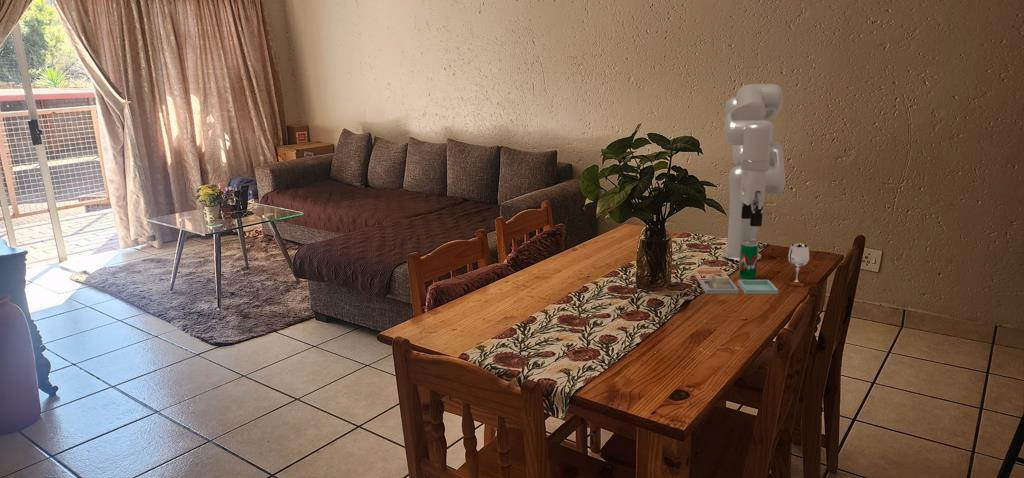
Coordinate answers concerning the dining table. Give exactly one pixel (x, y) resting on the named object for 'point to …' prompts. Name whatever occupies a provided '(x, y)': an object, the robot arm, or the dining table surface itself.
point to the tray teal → (757, 287)
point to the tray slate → (708, 290)
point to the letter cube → (719, 281)
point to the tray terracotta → (697, 272)
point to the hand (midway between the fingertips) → (751, 222)
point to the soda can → (748, 259)
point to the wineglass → (798, 256)
